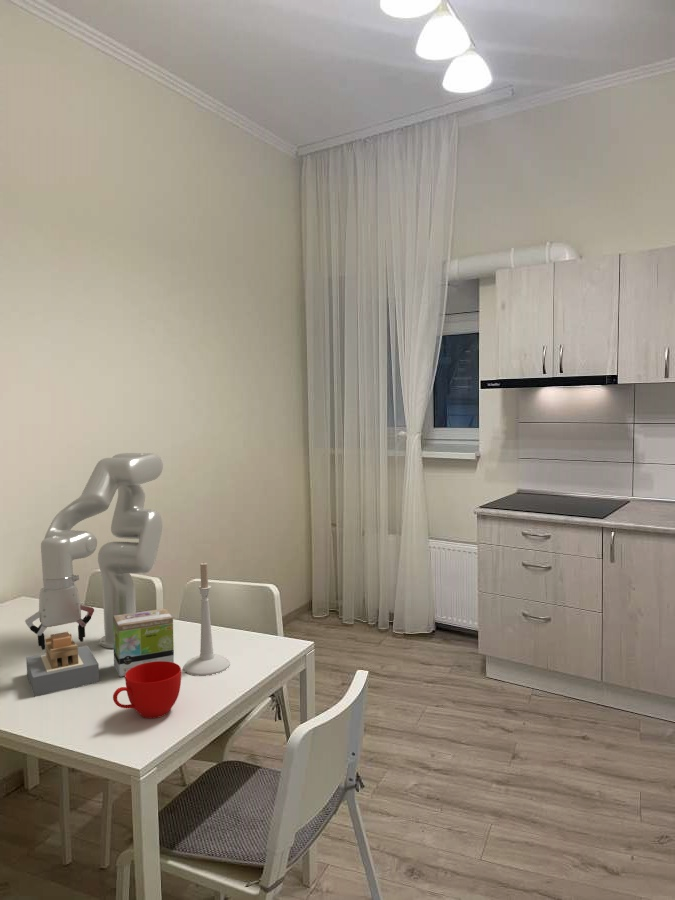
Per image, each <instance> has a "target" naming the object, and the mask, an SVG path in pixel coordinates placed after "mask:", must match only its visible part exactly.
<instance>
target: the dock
mask: <svg viewBox="0 0 675 900" xmlns="http://www.w3.org/2000/svg"><path fill="white" fill-rule="evenodd" d="M78 663H79V664H75V665H73V664H72V662H71V660H70V658H69V656H68V666H65V667H62V665H61V663H60V661H59V658H57V666H58V668H55V669H52V668H51V666H50V664H49V661H48V659H47V657H46V653H42V654H37V655H31V656H27V657H26V676H27V679H28V682H29V684H30V685H31V686H30V688H31V692H32V695H33V697H38V696H42V695H47V694H52V693H56V692H60V691H66V690H70V689H74V687H75V688H78V687H83V685H84V686H88V685H92V683H93V684H97V683H100V671H99V670H100V666H99V665H100V664H99V663H98V661H97V658H95V655H94V654H93V653H92V651H91V649H90V648H89V646H88V645H83V646H78Z"/></svg>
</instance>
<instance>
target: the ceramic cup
mask: <svg viewBox="0 0 675 900" xmlns="http://www.w3.org/2000/svg"><path fill="white" fill-rule="evenodd" d="M124 678H125V679H124V680H125V686H123V687H122V686H121V687H119V688H116V690H115V691H114V692H113V695H112V700H113V702H114V704H115V705H116V706H117V707H118V708H121V709H134V710H135V711H136V712H137V713H138V714H139V715H140V716H141V717H142V718H145V719H158V718H161V717H163V716H165V715H167V714H168V713H169V712H170V710H171V709H172V708H173V707H174V705H175V704H176V702H177V700H178V697H179V695H180V691H181V683H182V668H181V666H180V665H179V664H177V663H176V662H174V663H173V662H166V661H156V662H148V663H144V664H140V665H137V666H135V667H133V668H131V669H130V670H128V671H127V672H126V674H125V676H124ZM123 691H124V692H126V694H127V697H128V701H129V703H130V704H123V703H120V701H119V700H118V695H119V694H120V693H121V692H123Z"/></svg>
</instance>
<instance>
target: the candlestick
mask: <svg viewBox="0 0 675 900" xmlns="http://www.w3.org/2000/svg"><path fill="white" fill-rule="evenodd" d="M199 566H200V585H199V586H198V587H197V588H198V589H199V590H200V591H199V593H200V595H201V600H200V601H201V608H200V613H201V614H200V616H201V617H200V650H199V651H200V653H199V655H197V656H194V657H191V658H190V659H189V660H187V661H186V662H185V663H184V664H183V671H184V672H185V673H186V672H187V673H186V674H188V673H189V674H188V675H190V674H192V675H191V676H195V675H199V676H198V677H206V675H209V676H213V675H212V674H215V675H217V674H216V673H218V674H221V673H223V672H222V671H224V670H225V671H227V670H228V669H229V668H230V667H231V661H230V660H229V658H227V657H226V656H224V655H221V654H216V653H214V648H213V637H212V636H213V635H212V625H211V624H212V623H211V613H210V602H209V601H210V599H209V598H208V597H209V594H210V589H211V588H212V586H211V585H209V574H208V573H209V570H208V569H209V568H208V566H209V565H208V563H207V562H201V563H200V565H199ZM229 666H230V667H229ZM227 668H228V669H227ZM226 669H227V670H226ZM225 671H224V672H225ZM220 672H221V673H220Z"/></svg>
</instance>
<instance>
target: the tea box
mask: <svg viewBox="0 0 675 900" xmlns="http://www.w3.org/2000/svg"><path fill="white" fill-rule="evenodd" d="M113 642H114V648H113V666H114V667H115V669H116V672H117V674H118V675H119V677H120V678H121V677H125V674H126V672H127V671H128V670H130V669H131V668H133V667H135V666H137V665H140V664H144V663H148V662H156V661H166V662H173V663H175V662H174V661H175V654H174V653H175V652H174V651H175V650H174V649H175V648H174V644H175V643H174V618H173V616H172V614H171V613H170V612H169V611H168V610H167V609H166V608H158V609H151V610H144V611H138V612H137V611H136V613H129V614H122V615H115V616H113Z"/></svg>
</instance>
